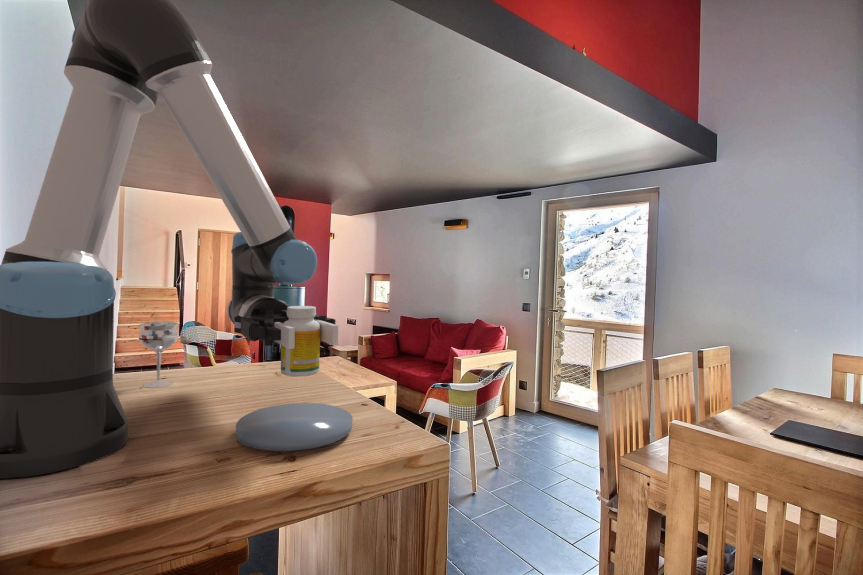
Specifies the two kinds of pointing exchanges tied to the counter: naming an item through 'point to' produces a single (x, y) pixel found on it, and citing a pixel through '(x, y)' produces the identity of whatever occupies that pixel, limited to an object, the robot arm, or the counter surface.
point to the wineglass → (158, 343)
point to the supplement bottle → (302, 343)
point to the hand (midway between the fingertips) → (314, 336)
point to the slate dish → (293, 426)
